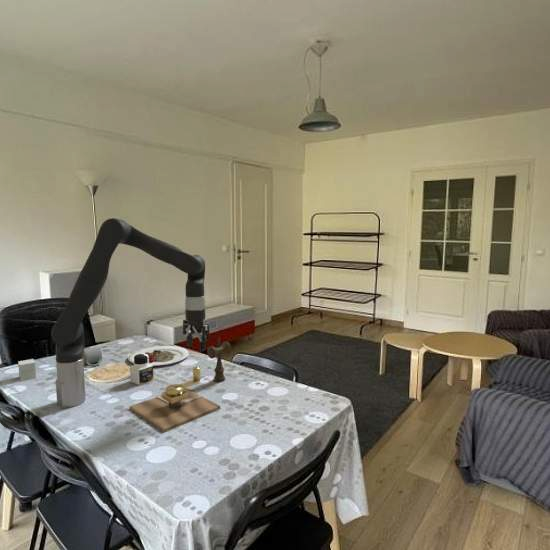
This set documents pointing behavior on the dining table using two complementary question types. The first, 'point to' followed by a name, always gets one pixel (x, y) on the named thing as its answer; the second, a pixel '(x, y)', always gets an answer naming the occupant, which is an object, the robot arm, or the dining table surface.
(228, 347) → the kendama
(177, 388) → the gold piece
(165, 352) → the plated food
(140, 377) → the medicine bottle
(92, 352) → the ceramic mug
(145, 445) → the dining table surface
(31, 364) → the product box
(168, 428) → the post base
